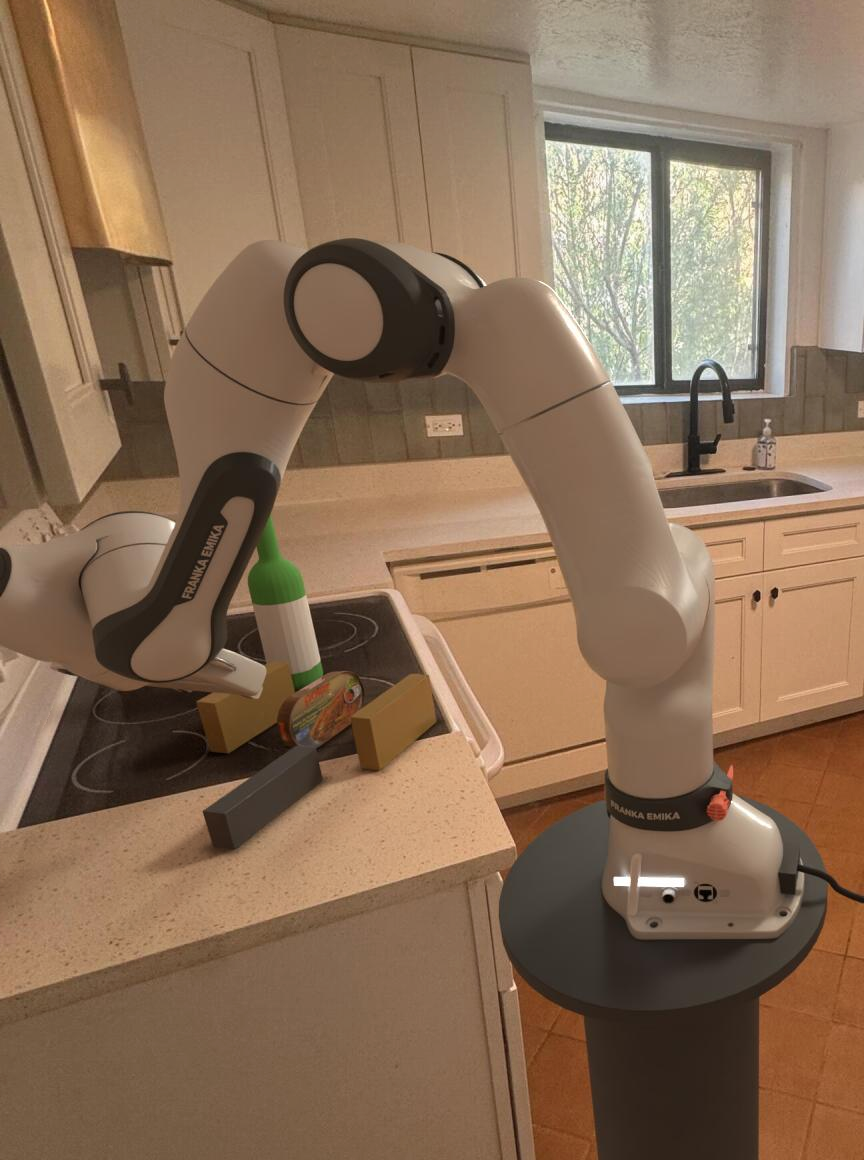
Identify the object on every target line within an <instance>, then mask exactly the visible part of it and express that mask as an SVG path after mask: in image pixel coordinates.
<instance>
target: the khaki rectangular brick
mask: <svg viewBox="0 0 864 1160" xmlns="http://www.w3.org/2000/svg"><path fill="white" fill-rule="evenodd" d="M430 679H431V678H430V674H423V673H413V672H412V673H409V674H408V675H407V676H405V677H404V678H402V679H401V680H400V681H399V682H397V683H395V684H394V685H392V686H391V687H390V688H389V689H387V690H385V691H384V692H383V693H381V694H380V695H379V696H377V697H376V698H374V699H373V700H372V701H370V702H368V703H367V704H366V705H364V706H363V708H362V709H360V710H359V711H358V712H356V713H355V714H353V715H352V716H351V717H350V719H351V728H352V733H353V738H354V743H355V747H356V748H355V749H356V752H357V757H358V762H359V763H358V764H359V766H360V769H363V770H365V769H366V770H373V771H381V770H383V769H384V768H385V767H386V766H387V765H388V764H389V763H391V762H392V761H393V760H394V759H396V757H398V756H399V755H400V754H401V753H403V752H404V751H405V750H406V749H407V748H408V747H409V746H411V745H412V744H413V743H414V742H415V741H416V740H417V739H419V737H421V736H422V735H423V734H424V733H426V732H427V731H428V730H429V729H430V728H432V727H433V726H434V725H435V724H436V723H437V717H436V716H437V715H436V711H435V705H434V704H435V703H434V698H433V691H432V685H431V680H430Z"/></svg>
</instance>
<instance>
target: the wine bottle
mask: <svg viewBox="0 0 864 1160" xmlns="http://www.w3.org/2000/svg"><path fill="white" fill-rule="evenodd" d="M256 551H257V556H258V560H257V561H256V563H254V565H253V566H252V567H251V569H250V570H249V572H248V575H247V586H248V591H249V595H250V599H251V604H252V609H253V612H254V613H253V614H254V617H255V621H256V626H257V629H258V634H259V637H260V642H261V645H262V650H263V655H264V659H265V662H266V663H265V664H267V663H269V662H271V661H275V662H286V663H288V664H289V669H290V673H291V677H292V682H293V686H294V690H295V692H297V691H299V690H300V689H302V688H304V687H305V686H307V685H309V684H310V683H312V682H314V681H315V680H317V679H319V678H320V677H322V676H324V669H323V665H322V660H321V656H320V650H319V646H318V641H317V637H316V632H315V628H314V624H313V619H312V614H311V610H310V606H309V600H308V596H307V592H306V588H305V583H304V579H303V576H302V573H301V571H300V569H299V568H298V566H296V564H294V563H293V562H291V560H288V559H286V558H284V557H283V556H282V554H281V551H280V546H279V542H278V538H277V534H276V529H275V525H274V521H273V516H272V513H271V514H270V517H269V519H268V522H267V524H266V526H265V529H264V531H263V533H262V535H261V538H260V540H259V542H258V544H257V546H256Z"/></svg>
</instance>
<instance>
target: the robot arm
mask: <svg viewBox="0 0 864 1160" xmlns="http://www.w3.org/2000/svg"><path fill="white" fill-rule="evenodd" d="M177 341H178V342H177V343H176V345H175V347H174V350H173V353H172V355H171V359H170V362H169V366H168V370H167V374H166V375H167V376H166V379H165V385H164V391H163V392H164V393H163V402H164V408H165V414H166V418H167V421H168V426H169V430H170V434H171V439H172V443H173V446H174V447H173V448H174V451H175V452H174V453H175V456H176V461H177V468H178V475H179V486H180V501H179V509H178V513H177V517H176V521H175V520H173V519H172V518H169V517H167V516H165V515H161V514H158V513H154V512H149V511H143V510H123V511H117V512H112V513H108V514H105V515H103V516H101V517H99V518H96V519H95V520H93V521H91V522H90V523H88V524H87V525H85V526H84V527H82V528H81V529H80V530H78V531H74V532H73V533H69V534H67V535H64V536H61V537H58V538H55V539H52V540H49V541H44V542H40V543H35V544H27V545H26V544H25V545H22V544H21V545H20V544H19V545H18V544H17V545H15V544H12V545H11V544H7V545H6V544H5V545H0V646H1V647H4V648H5V649H8V650H11V651H13V652H15V653H17V654H20V655H23V656H25V657H29V658H30V659H33V660H36V661H38V662H39V661H40V662H44V663H50V665H49V668H50V669H51V670H53V671H55V672H57V673H60V674H64V675H67V676H72V677H79V678H82V679H85V680H88V681H91V682H94V683H97V684H99V685H102V686H105V687H107V688H110V689H113V690H116V691H120V692H130V691H135V690H139V689H142V688H143V687H154V688H163V689H164V688H165V689H172V690H175V691H177V692H180V693H189V694H191V693H193V692H204V693H213V692H214V693H224V694H235V695H240V696H243V697H245V698H250V699H258V698H259V697H260V695H261V693H262V690H263V686H262V684H263V682H264V679H265V676H266V667H265V666H263V665H264V664H262V663H259V662H258V661H255V660H253V659H251V658H249V657H246V656H244V655H242V654H240V653H237V652H234V651H232V650H229V649H226V648H224V647H225V645H226V644H227V640H228V624H227V617H228V610H229V607H230V604H231V602H232V599H233V598H234V595H235V593H236V590H237V588H238V586H239V584H240V582H241V581H242V578H243V576H244V573H245V572H246V569H247V568H248V565H249V563H250V561H251V558H252V557H253V555H254V553H255V551H256V549H257V547H256V546H257V544H258V542H259V540H260V538H261V535H262V533H263V531H264V529H265V526H266V524H267V522H268V519H269V517H270V514H271V515H272V512H273V509H274V506H275V502H276V500H277V496H278V493H279V491H280V488H281V485H282V481H283V478H284V475H285V473H286V470H287V466H288V463H289V461H290V458H291V455H292V453H293V450H294V449H295V446H296V444H297V442H298V439H299V438H300V436H301V433H302V431H303V429H304V427H305V425H306V423H307V421H308V420H309V417H310V416H311V414H312V412H313V410H314V408H315V407H316V405H317V404H318V402H319V400H320V398H321V397H322V395H323V394H324V391H325V390H326V388H327V386H328V384H329V383H330V381H331V379H332V377H334V375H337V376H339V377H342V378H345V379H348V380H352V381H356V382H362V383H368V384H391V383H398V382H403V381H411V382H420V381H426V380H431V379H435V378H439V377H442V376H445V375H450V376H453V377H455V378H458V379H459V380H460V381H462V382H463V383H465V384H466V385H467V386H468V387H469V388H470V389H471V390H472V392H473V393H474V394H475V395H476V398H478V400H479V401H480V403H481V404H482V406H483V408H484V409H485V412H486V413H487V414H486V415H488V417H489V419H490V422H491V423H492V425H493V427H494V429H495V431H496V432H497V434H498V435H499V434H500V435H499V438H500V440H501V442H502V444H503V445H504V447H505V449H506V451H507V453H508V455H509V457H510V459H511V460H512V462H513V464H514V466H515V467H516V470H517V471H518V473H519V476H520V477H521V479H522V480H523V483H524V484H525V486H526V488H527V491H528V492H529V494H530V496H531V497H532V500H533V501H534V503H535V505H536V508H537V509H538V512H539V513H540V515H541V518H542V521H543V523H544V525H545V528H546V531H547V533H548V536H549V539H550V542H551V546H552V548H553V551H554V555H555V557H556V560H557V564H558V567H559V570H560V573H561V576H562V579H563V583H564V585H565V587H566V590H567V593H568V597H569V600H570V602H571V605H572V609H573V613H574V619H575V627H576V639H577V640H576V641H577V645H578V649H579V652H580V654H581V656H582V658H583V660H584V661H585V663H586V665H588V667H589V668H590V669H591V670H592V671H593V673H595V674H596V675H597V676H599V678H601V679H603V680H604V681H606V682H605V692H604V698H603V719H604V720H603V722H604V734H605V736H604V737H605V749H606V758H607V759H606V763H607V768H606V769H605V771H604V791H603V792H604V800H605V803H606V808H607V815H608V817H609V818H610V835H609V848H608V855H607V861H606V866H605V870H604V873H603V876H602V882H601V887H602V892H603V895H604V898H605V899H606V901H607V902H608V904H609V905H610V906H611V907H612V908H613V909H614V910H615V911H616V912H618V913H619V914H620V915H621V916H622V917H623V918H624V919H625V921H626V924H627V927H628V929H629V931H630V933H631V935H632V936H633V937H635V938H637V939H642V940H658V939H773V938H777V937H779V936H780V935H781V934H783V933H784V932H785V931H786V930H787V929H788V928H789V927H790V926H791V924H792V923H793V921H794V920H795V918H796V916H797V914H798V912H799V909H800V906H801V903H802V899H803V894H804V886H805V877H804V873H806V874H810V875H813V876H816V877H819V878H821V879H823V880H825V881H827V882H828V885H829V886H830V888H832V890H833V891H835V892H836V893H837V894H839V895H841V896H843V897H844V898H847V899H850V900H852V901H854V902H858V903H860V904H864V895H862V894H858V893H856V892H854V891H851V890H849V889H846V888H845V887H843V886H841V885H840V884H839V883H838V882H837V880H836V879H835V878H834V876H832V875H830V874H829V873H827V872H826V873H825V872H823V871H821V870H818V869H815V868H811V867H807V866H804V865H803V864H802V861H801V858H800V843H798V842H788V841H784V844H783V843H782V839H781V835H780V832H779V829H778V827H777V825H776V823H775V822H774V821H773V820H772V819H771V818H770V817H768V816H767V815H765V814H763V813H762V812H760V811H759V810H757V809H756V808H754V807H753V806H751V805H750V804H748V803H747V802H745V801H744V800H742V799H741V798H739V797H738V796H736V795H737V794H736V793H733V790H734V789H733V779H734V766H733V764H730V766H729V769H728V771H727V774H726V773H725V772H724V771H723V770H722V769H721V767H719V765H718V764H717V763H716V761H715V759H714V728H713V727H714V726H713V725H714V724H713V689H714V688H713V687H714V659H715V624H716V623H715V622H716V621H715V619H716V617H715V616H716V614H715V612H716V572H715V567H714V563H713V559H712V555H711V553H710V551H709V550H708V547H707V546H706V543H705V542H704V540H703V539H702V538H701V536H700V535H698V534H697V533H696V532H695V531H694V530H692V529H690V528H688V527H686V526H684V525H681V524H678V523H674V522H669V521H668V517H667V514H666V512H665V509H664V506H663V502H662V500H661V496H660V494H659V490H658V486H657V483H656V480H655V476H654V470H653V465H652V462H651V460H650V457H649V456H648V454H647V453H646V450H645V448H644V446H643V444H642V442H641V439H640V437H639V436H638V434H637V431H636V429H635V427H634V425H633V423H632V421H631V419H630V417H629V415H628V412H627V411H626V409H625V406H624V404H623V403H622V400H621V398H620V396H619V394H618V393H617V390H616V388H615V386H614V384H613V383H612V382H611V381H612V380H611V378H610V376H609V374H608V372H607V370H606V368H605V366H604V365H603V362H602V361H601V359H600V357H599V355H598V354H597V352H596V350H595V348H594V347H593V345H592V343H591V342H590V339H588V337H587V335H586V334H585V332H584V331H583V329H582V328H581V326H580V324H579V323H578V321H577V320H576V318H575V317H574V315H573V314H572V313H571V311H570V310H569V308H568V307H567V306H566V304H565V303H564V302H563V300H562V299H561V298H560V296H559V295H558V294H557V293H556V292H555V291H554V289H553V288H552V287H550V286H549V285H548V284H546V283H544V282H542V281H541V280H538V279H534V278H531V277H508V278H503V279H499V280H495V281H493V282H491V283H488V284H486V282H485V281H484V280H483V278H481V277H480V275H479V274H478V273H477V272H475V271H474V270H473V268H471V267H470V266H468V265H467V264H466V263H464V262H463V261H461V260H459V259H457V258H456V257H453V256H451V255H449V254H446V253H441V252H435V251H430V250H427V249H424V248H420V247H418V246H415V245H412V244H410V243H405V242H401V241H400V242H398V241H390V240H369V239H363V238H358V237H357V238H356V237H347V238H340V239H339V238H338V239H335V240H330V241H327V242H323V243H320V244H318V245H316V246H314V247H312V248H310V249H306V248H304V247H301V246H300V245H296V244H294V243H290V242H287V241H286V242H285V241H283V240H282V241H281V240H274V239H265V240H260V241H255V242H253V243H250V244H248V245H246V247H244V248H243V249H242V250H241V251H240V252H239V253H238V254H237V255H236V256H235V257H233V259H232V261H230V262H229V264H228V265H227V266H226V267H225V268H224V270H223V271H222V272H221V273H220V275H218V276H217V278H216V279H215V281H214V282H213V283H212V285H211V286H210V287H209V288H208V289H207V291H206V292H205V294H204V296H203V297H202V298H201V301H200V302H199V304H198V305H197V306H196V308H195V310H194V312H193V314H192V315H191V317H190V318H189V320H188V322H187V324H186V326H185V328H184V330H183V332H182V333H181V335H180V337H179V338H178V340H177ZM735 794H736V795H735ZM782 916H784V917H782ZM653 927H655V928H653Z"/></svg>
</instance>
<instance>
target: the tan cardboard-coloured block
mask: <svg viewBox="0 0 864 1160" xmlns="http://www.w3.org/2000/svg"><path fill="white" fill-rule="evenodd" d="M262 665H263V666H265V667H266V676H265V679H264V682H263V684H262V686H263V690H262V693H261V695H260V697H259V698H258V699H250V698H245V697H243V696H240V695H235V694H224V693H214V692H210V694H207V695H206V696H204V697H202V698H200V699H198V700H196V703H195V704H196V708H197V709H198V713H199V716H200V721H201V724H202V727H203V731H204V734H205V735H204V736H205V738H206V741H207V745H208V748H209V751H210V752H212V753H220V754H230V753H232V752H233V751H235V750H236V749H238V748H239V747H241V746H243V745H244V744H245V743H247V742H249V741H251V740H252V739H254V738H255V737H256V736H258V735H260V734H261V733H263V732H264V731H266V730H268V729H269V728H270V727H272V726H274V725H275V724H277V716H278V713H279V710H280V708H281V706H282V704H283V702H284V701H285V700H286V699H287V698H288V697H289V696H291V695H292V694H294V693H295V692H296V691H295V690H294V686H293V682H292V677H291V673H290V669H289V664H288V663H286V662H275V661H271V662H269V663H265V664H262Z"/></svg>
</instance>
